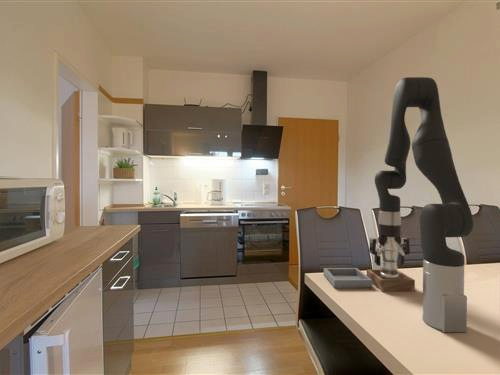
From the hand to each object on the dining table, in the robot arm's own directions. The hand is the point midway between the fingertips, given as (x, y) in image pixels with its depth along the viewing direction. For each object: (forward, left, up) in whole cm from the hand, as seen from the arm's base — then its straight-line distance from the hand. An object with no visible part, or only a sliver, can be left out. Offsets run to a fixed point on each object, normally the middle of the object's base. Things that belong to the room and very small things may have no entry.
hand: (389, 265), depth 102 cm
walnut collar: (0, 0, -8) cm, 8 cm away
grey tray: (+4, +15, -8) cm, 17 cm away
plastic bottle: (0, 0, -8) cm, 8 cm away
